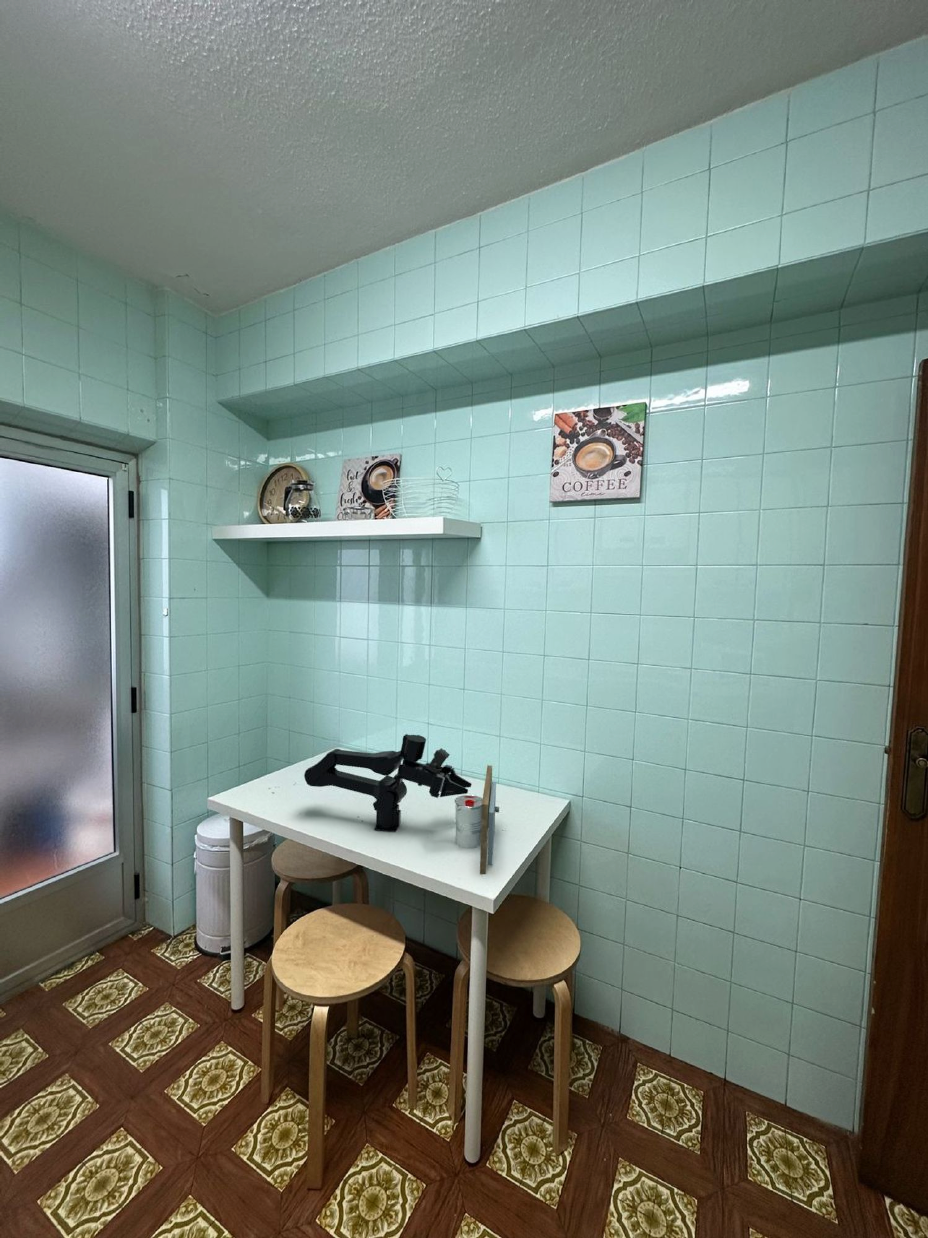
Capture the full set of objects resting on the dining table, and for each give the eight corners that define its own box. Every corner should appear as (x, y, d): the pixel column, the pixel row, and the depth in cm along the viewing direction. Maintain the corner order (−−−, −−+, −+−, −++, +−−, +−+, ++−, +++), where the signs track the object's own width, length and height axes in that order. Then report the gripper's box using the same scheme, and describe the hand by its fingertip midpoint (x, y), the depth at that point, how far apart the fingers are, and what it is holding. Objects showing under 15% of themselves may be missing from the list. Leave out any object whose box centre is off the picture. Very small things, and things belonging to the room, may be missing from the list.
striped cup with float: (467, 831, 151) (468, 791, 150) (490, 840, 146) (492, 799, 145) (445, 843, 143) (446, 802, 143) (469, 854, 138) (470, 810, 137)
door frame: (479, 874, 128) (481, 804, 127) (485, 822, 157) (487, 765, 156) (485, 874, 128) (487, 804, 127) (490, 822, 157) (492, 765, 156)
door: (487, 865, 132) (488, 812, 131) (490, 827, 153) (492, 782, 152) (496, 866, 132) (498, 813, 131) (498, 828, 153) (500, 782, 152)
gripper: (419, 750, 141) (473, 765, 139) (431, 742, 160) (479, 756, 157) (408, 789, 140) (463, 806, 138) (422, 778, 158) (470, 792, 156)
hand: (469, 788), depth 147 cm, fingers open, 9 cm apart
